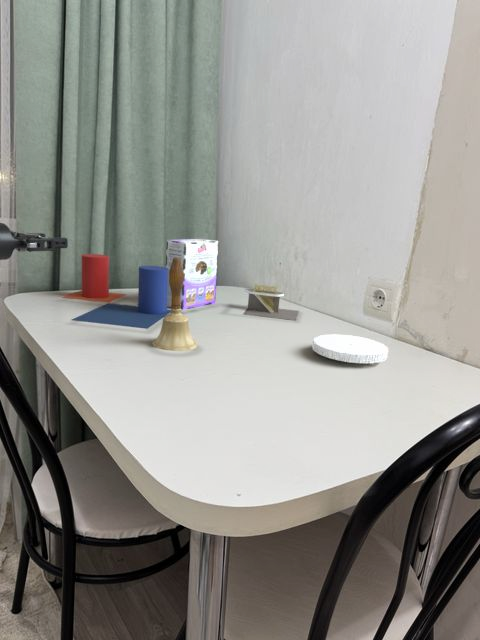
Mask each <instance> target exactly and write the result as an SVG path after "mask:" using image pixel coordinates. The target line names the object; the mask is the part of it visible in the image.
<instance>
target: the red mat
mask: <svg viewBox="0 0 480 640" xmlns="http://www.w3.org/2000/svg"><path fill="white" fill-rule="evenodd" d="M127 295H128V294H127V293H118V292H117V293H116V292H109V297H106V298H87V297H83V296H82V289H81V290H78V291H75V292H72V293H70V294H66V295H64V296H61V297H60V298H62V299H72V300H80V301H88V302H97V303H105V304H107V303H113V302H114V301H116V300H119V299H121V298H123V297H125V296H127Z"/></svg>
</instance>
